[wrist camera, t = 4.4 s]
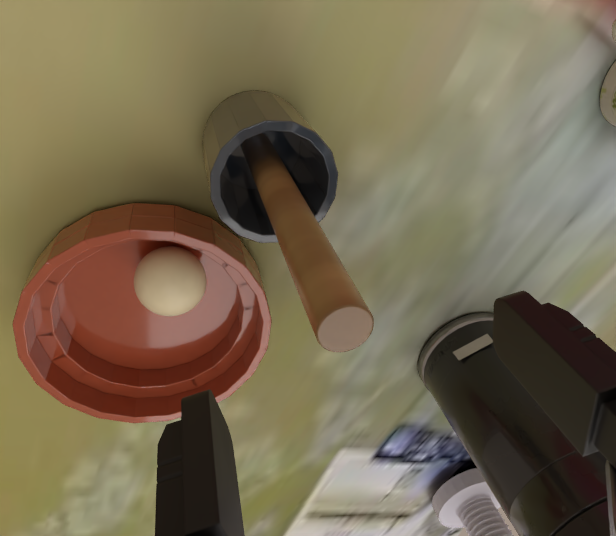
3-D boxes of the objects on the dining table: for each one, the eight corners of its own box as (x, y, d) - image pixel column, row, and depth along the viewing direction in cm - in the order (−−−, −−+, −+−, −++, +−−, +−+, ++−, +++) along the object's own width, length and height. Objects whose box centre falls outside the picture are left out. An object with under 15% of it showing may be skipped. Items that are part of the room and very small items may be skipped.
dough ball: (214, 246, 32) (219, 281, 28) (190, 297, 33) (193, 337, 30) (148, 225, 30) (145, 259, 26) (127, 280, 31) (121, 320, 28)
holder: (323, 118, 29) (359, 153, 24) (278, 206, 32) (302, 257, 26) (227, 70, 27) (242, 97, 21) (187, 170, 29) (190, 219, 23)
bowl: (295, 244, 34) (309, 275, 30) (214, 395, 39) (218, 435, 36) (65, 163, 27) (50, 190, 24) (8, 357, 33) (-11, 402, 29)
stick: (275, 139, 29) (385, 313, 14) (263, 165, 30) (355, 358, 15) (249, 127, 28) (335, 298, 13) (237, 154, 29) (305, 346, 14)
